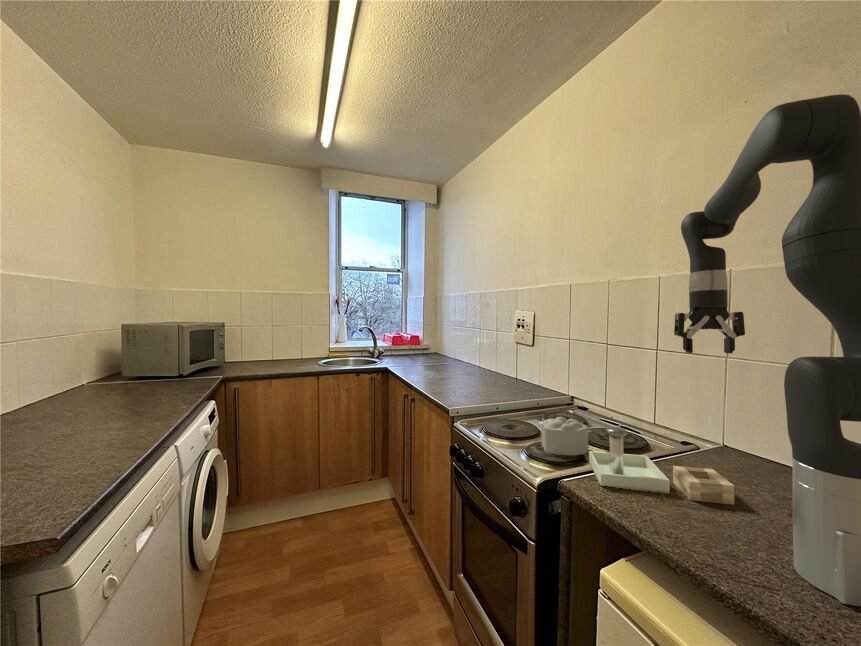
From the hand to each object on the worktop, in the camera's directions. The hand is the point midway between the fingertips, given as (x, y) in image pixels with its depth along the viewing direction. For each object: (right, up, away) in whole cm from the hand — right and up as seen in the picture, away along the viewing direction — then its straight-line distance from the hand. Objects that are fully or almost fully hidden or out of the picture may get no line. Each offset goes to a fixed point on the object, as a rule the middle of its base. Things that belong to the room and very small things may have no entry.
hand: (708, 353), depth 85 cm
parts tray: (-23, -31, -2) cm, 38 cm away
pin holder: (-10, -30, -10) cm, 34 cm away
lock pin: (-24, -30, -1) cm, 39 cm away
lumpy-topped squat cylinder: (-30, -31, +17) cm, 46 cm away
